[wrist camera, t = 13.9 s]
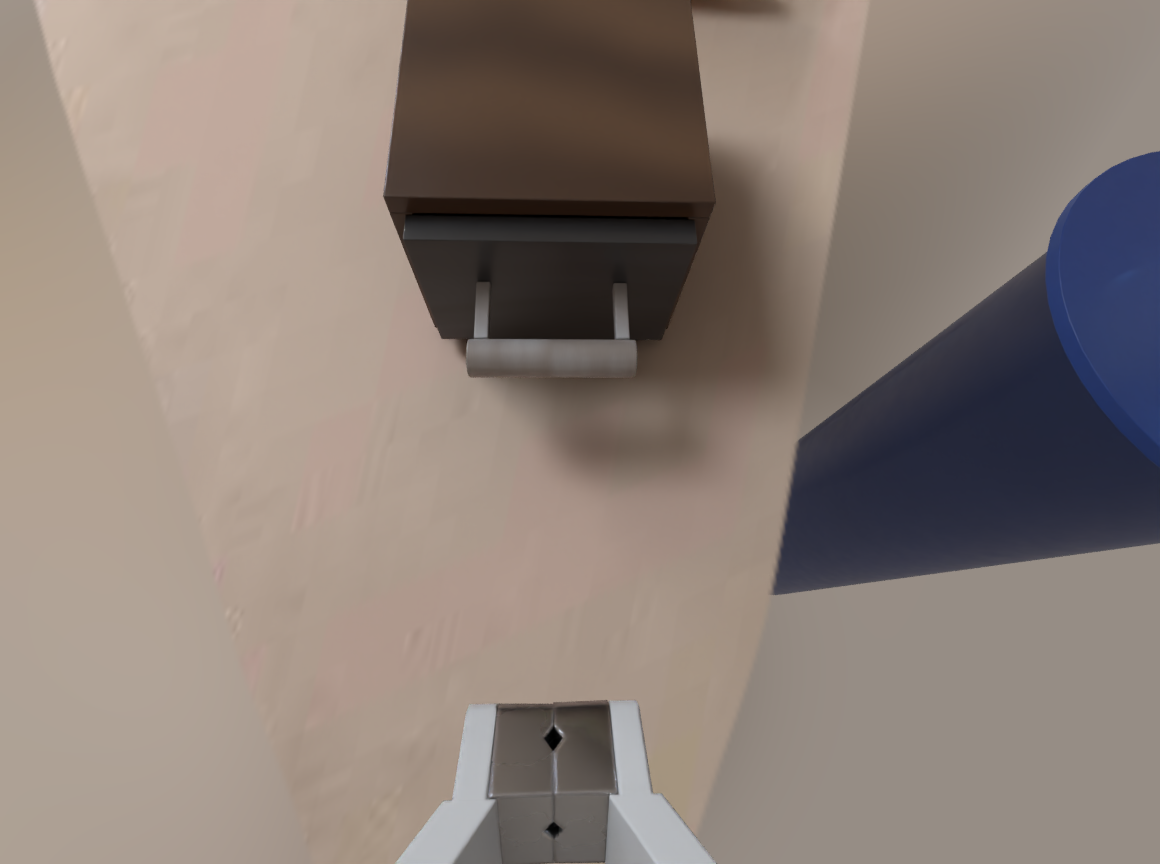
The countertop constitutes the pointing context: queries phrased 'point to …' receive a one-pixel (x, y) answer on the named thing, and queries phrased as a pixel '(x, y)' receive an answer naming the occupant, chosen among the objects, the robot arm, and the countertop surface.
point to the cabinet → (549, 112)
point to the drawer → (550, 288)
